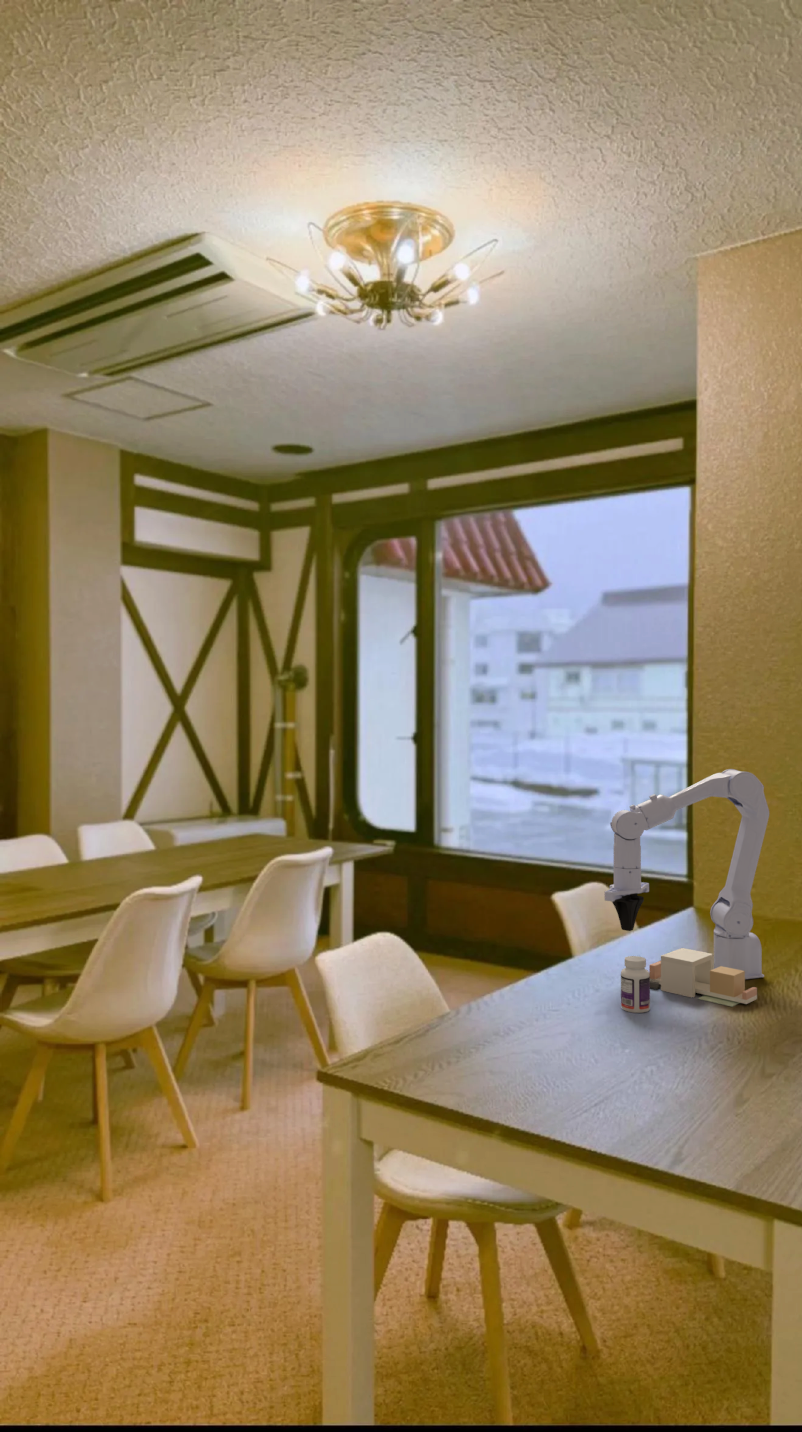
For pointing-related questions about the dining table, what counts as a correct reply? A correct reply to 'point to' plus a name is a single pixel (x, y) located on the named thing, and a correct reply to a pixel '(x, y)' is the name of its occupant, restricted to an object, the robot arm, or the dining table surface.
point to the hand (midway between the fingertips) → (627, 929)
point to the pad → (718, 1000)
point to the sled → (717, 984)
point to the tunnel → (685, 971)
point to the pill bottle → (635, 985)
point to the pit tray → (654, 985)
